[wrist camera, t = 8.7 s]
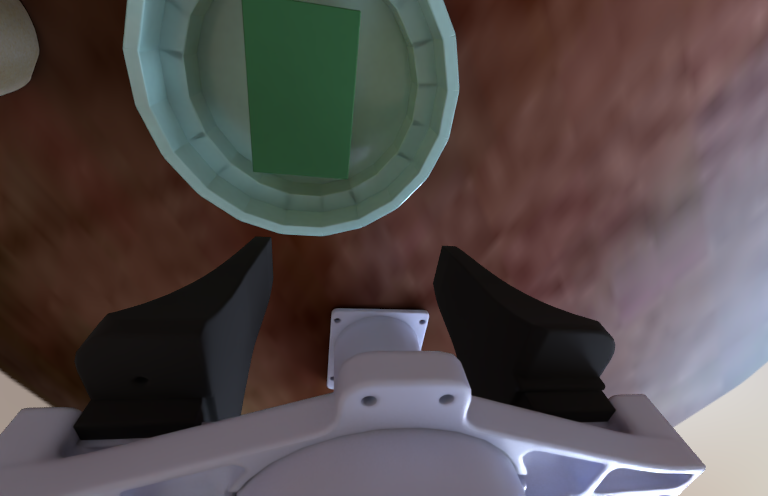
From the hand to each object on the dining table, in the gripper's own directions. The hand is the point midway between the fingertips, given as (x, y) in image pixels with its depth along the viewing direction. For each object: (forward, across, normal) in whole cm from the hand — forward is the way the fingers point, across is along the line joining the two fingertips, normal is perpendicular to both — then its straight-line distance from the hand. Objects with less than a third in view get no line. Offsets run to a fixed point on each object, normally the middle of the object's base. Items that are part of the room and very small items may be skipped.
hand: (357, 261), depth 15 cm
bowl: (+9, +3, -6) cm, 11 cm away
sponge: (+9, +3, -6) cm, 11 cm away
